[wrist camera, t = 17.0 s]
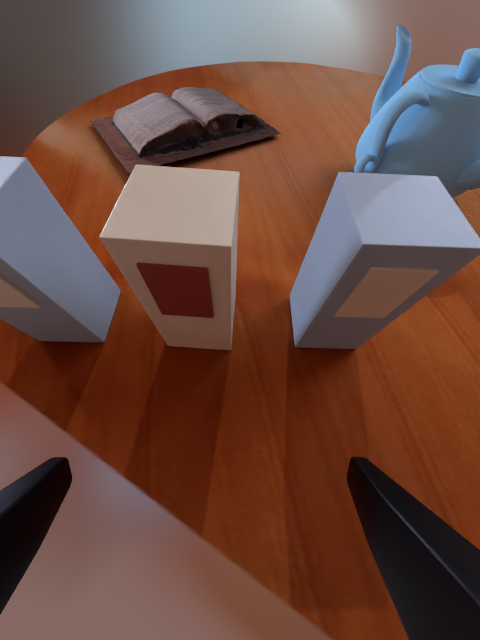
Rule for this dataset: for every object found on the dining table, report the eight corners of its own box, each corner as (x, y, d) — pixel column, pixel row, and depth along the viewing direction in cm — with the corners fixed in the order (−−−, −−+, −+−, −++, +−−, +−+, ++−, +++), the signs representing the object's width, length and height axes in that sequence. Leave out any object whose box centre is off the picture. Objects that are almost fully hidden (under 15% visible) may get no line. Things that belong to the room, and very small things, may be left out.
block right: (356, 351, 22) (490, 252, 11) (295, 349, 22) (364, 247, 11) (343, 297, 25) (437, 175, 14) (289, 296, 25) (338, 171, 14)
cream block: (230, 352, 22) (231, 250, 10) (167, 348, 22) (96, 240, 10) (235, 298, 25) (239, 171, 13) (179, 294, 25) (135, 163, 13)
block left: (104, 344, 22) (-38, 232, 10) (38, 343, 21) (-180, 227, 10) (121, 290, 25) (26, 156, 13) (63, 289, 24) (-83, 152, 13)
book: (281, 139, 42) (286, 106, 38) (129, 179, 33) (116, 142, 29) (225, 105, 51) (224, 76, 47) (93, 130, 42) (79, 97, 38)
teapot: (349, 147, 41) (400, 19, 28) (467, 180, 37) (584, 49, 25) (322, 198, 34) (375, 55, 21) (466, 244, 30) (630, 104, 18)
